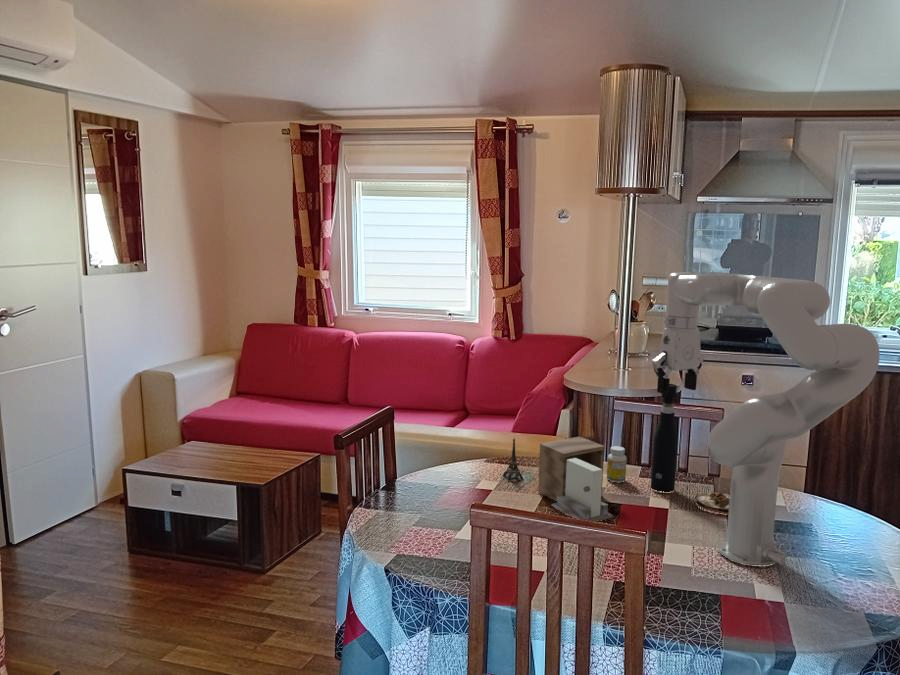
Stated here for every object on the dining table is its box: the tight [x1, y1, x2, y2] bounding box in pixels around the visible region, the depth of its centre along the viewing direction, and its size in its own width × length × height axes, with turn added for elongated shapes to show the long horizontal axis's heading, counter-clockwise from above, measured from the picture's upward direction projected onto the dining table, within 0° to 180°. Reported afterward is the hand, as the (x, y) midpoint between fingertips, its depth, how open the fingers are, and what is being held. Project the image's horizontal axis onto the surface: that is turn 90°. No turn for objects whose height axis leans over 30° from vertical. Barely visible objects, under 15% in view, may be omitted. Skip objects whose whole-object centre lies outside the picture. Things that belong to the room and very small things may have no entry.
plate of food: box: [694, 491, 730, 514], centre depth 189 cm, size 15×15×4 cm
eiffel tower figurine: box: [501, 437, 534, 490], centre depth 207 cm, size 15×10×13 cm
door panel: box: [565, 458, 603, 517], centre depth 183 cm, size 10×4×12 cm, turn 31°
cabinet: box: [537, 436, 613, 521], centre depth 189 cm, size 23×18×14 cm
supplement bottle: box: [606, 445, 628, 483], centre depth 207 cm, size 5×5×10 cm
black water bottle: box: [650, 383, 679, 492], centre depth 199 cm, size 6×6×30 cm
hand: (676, 391), depth 179 cm, fingers open, 9 cm apart
